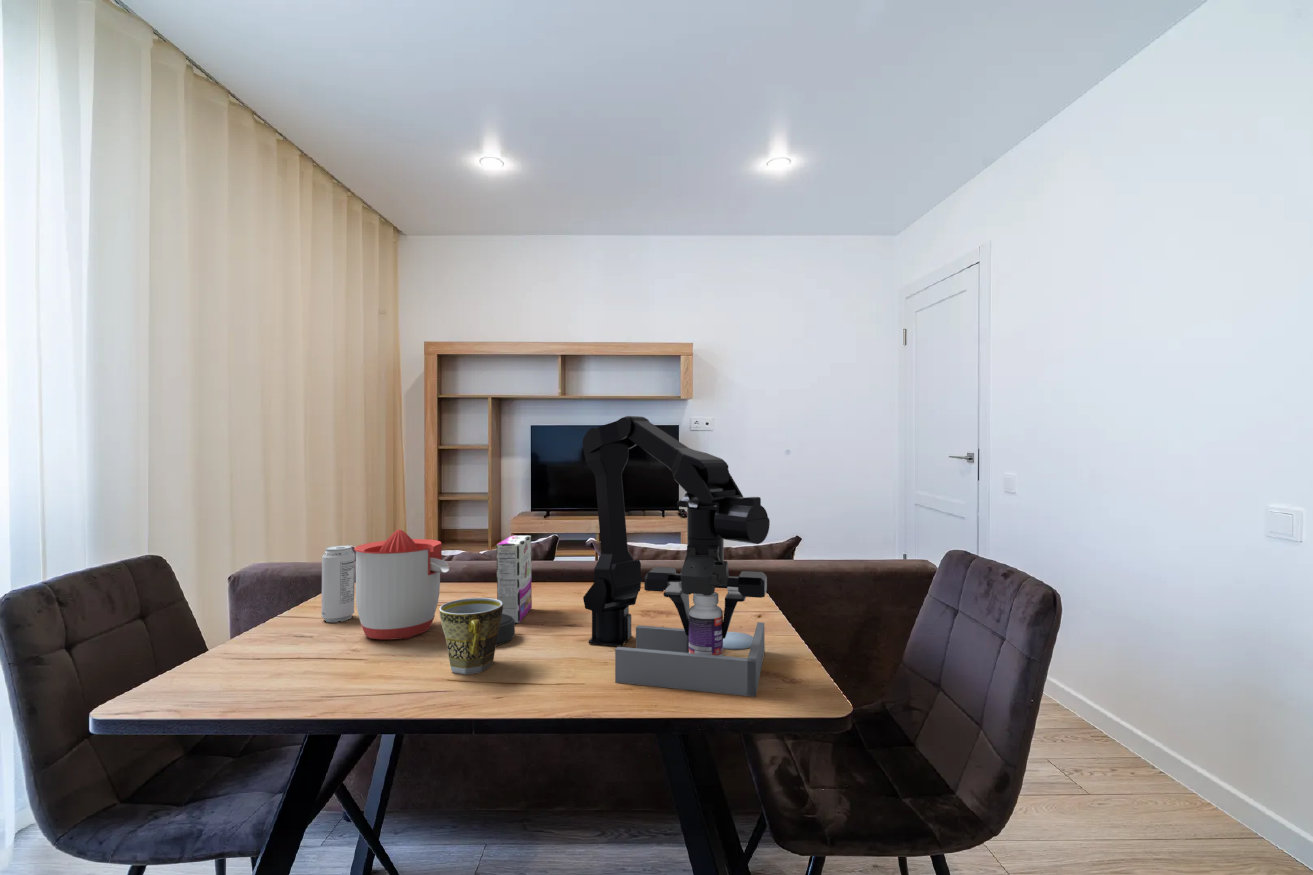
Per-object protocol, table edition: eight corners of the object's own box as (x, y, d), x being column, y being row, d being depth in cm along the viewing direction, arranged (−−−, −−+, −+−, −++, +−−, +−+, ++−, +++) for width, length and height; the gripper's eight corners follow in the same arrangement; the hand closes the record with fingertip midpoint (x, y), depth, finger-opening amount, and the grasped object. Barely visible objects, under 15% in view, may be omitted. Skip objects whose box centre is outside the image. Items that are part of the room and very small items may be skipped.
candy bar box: (509, 608, 129) (510, 535, 129) (532, 608, 129) (532, 535, 129) (495, 623, 118) (495, 543, 118) (519, 623, 118) (519, 543, 118)
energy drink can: (334, 614, 125) (335, 544, 125) (360, 615, 124) (361, 545, 124) (314, 622, 119) (315, 549, 119) (341, 623, 118) (342, 550, 118)
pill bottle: (721, 663, 88) (721, 598, 88) (686, 660, 89) (686, 596, 89) (724, 650, 93) (724, 590, 93) (691, 648, 94) (691, 588, 94)
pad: (703, 647, 103) (703, 645, 103) (711, 631, 112) (711, 630, 112) (754, 651, 101) (754, 649, 101) (758, 635, 110) (758, 633, 110)
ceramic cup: (437, 660, 97) (437, 601, 97) (498, 652, 101) (498, 595, 101) (441, 690, 85) (441, 622, 85) (510, 679, 89) (510, 614, 89)
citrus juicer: (430, 645, 105) (431, 535, 105) (335, 645, 105) (336, 535, 105) (461, 620, 120) (461, 524, 121) (379, 619, 121) (379, 523, 121)
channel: (615, 682, 88) (615, 649, 88) (648, 641, 107) (648, 614, 107) (755, 696, 83) (755, 661, 83) (764, 651, 101) (764, 622, 101)
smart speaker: (474, 632, 113) (475, 612, 113) (520, 633, 112) (520, 612, 112) (457, 648, 104) (457, 626, 104) (506, 648, 103) (506, 626, 103)
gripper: (634, 542, 86) (634, 648, 85) (761, 547, 81) (762, 659, 81) (653, 532, 96) (653, 626, 96) (766, 536, 92) (767, 634, 91)
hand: (705, 636), depth 91 cm, fingers closed on pill bottle, 5 cm apart
